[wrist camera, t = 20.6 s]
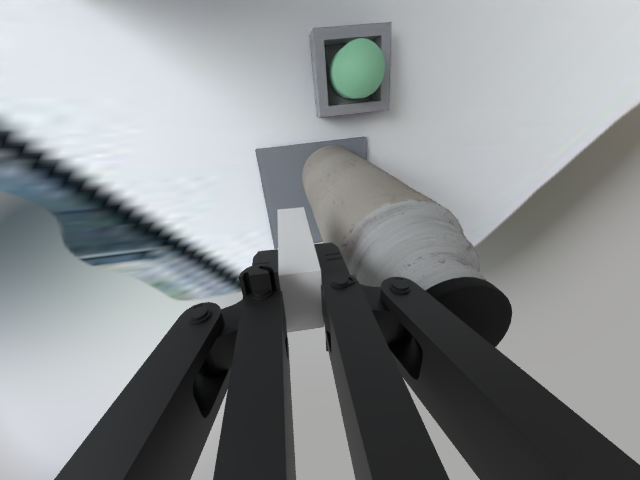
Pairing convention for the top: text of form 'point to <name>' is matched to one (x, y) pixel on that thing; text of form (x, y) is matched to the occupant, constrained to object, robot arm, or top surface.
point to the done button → (357, 69)
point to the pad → (294, 178)
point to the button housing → (341, 35)
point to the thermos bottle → (400, 237)
